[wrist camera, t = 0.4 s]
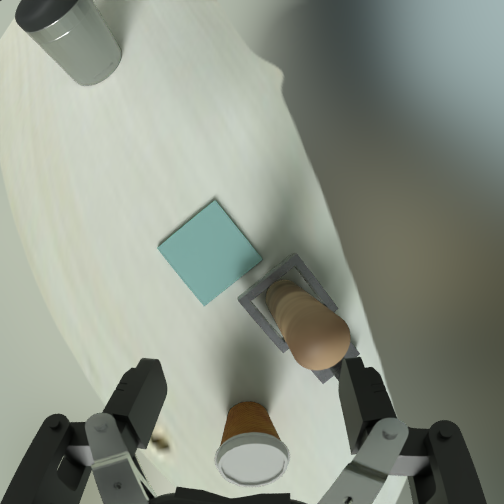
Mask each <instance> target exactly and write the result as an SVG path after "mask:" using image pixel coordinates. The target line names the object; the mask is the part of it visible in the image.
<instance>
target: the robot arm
mask: <svg viewBox="0 0 504 504" xmlns="http://www.w3.org/2000/svg"><path fill="white" fill-rule="evenodd" d="M0 1H1V0H0ZM15 19H16V22H17V23H18V25H19V26H20V27H21V28H22V29H23V30H24V31H25V32H26V33H27V34H28V35H29V36H30V37H31V38H32V39H33V40H34V41H35V42H37V43H38V44H39V45H40V46H41V47H42V48H43V49H44V51H45V52H46V53H47V54H48V55H49V56H50V57H51V58H52V59H53V60H54V61H55V62H56V63H57V64H58V65H59V66H60V67H61V68H62V69H63V70H64V71H65V72H66V73H67V74H68V75H69V76H70V77H71V78H72V79H73V80H74V81H75V82H77V83H78V84H80V85H83V86H89V85H94V84H97V83H99V82H101V81H103V80H104V79H106V78H107V77H108V76H109V75H110V74H112V73H113V71H114V70H115V69H116V68H117V66H118V64H119V62H120V60H121V49H120V47H119V45H118V44H117V42H116V40H115V38H114V37H113V35H112V33H111V31H110V30H109V28H108V26H107V24H106V23H105V21H104V19H103V18H102V16H101V14H100V12H99V11H98V9H97V7H96V5H95V4H94V2H93V0H21V2H20V3H19V5H18V7H17V10H16V14H15ZM166 395H167V383H166V380H165V377H164V373H163V370H162V367H161V364H160V361H159V360H158V359H149V358H142V359H141V360H140V362H139V363H138V365H137V367H136V368H131V369H130V370H128V371H127V372H126V373H125V374H124V375H123V377H122V378H121V380H120V382H119V384H118V385H117V387H116V390H115V391H114V392H113V394H112V396H111V398H110V400H109V401H108V403H107V405H106V407H105V409H104V410H103V412H102V413H97V414H94V415H92V416H91V417H90V418H89V419H88V420H87V421H86V422H69V420H68V419H67V418H66V416H64V415H62V414H53V415H51V416H49V417H47V418H46V419H45V421H44V422H43V424H42V426H41V427H40V429H39V431H38V432H37V434H36V436H35V438H34V439H33V441H32V443H31V445H30V447H29V448H28V450H27V452H26V454H25V456H24V457H23V459H22V461H21V463H20V465H19V467H18V469H17V471H16V473H15V475H14V477H13V479H12V481H11V483H10V485H9V487H8V489H7V491H6V493H5V495H4V497H3V500H2V501H1V504H79V503H80V500H81V497H82V494H83V491H84V489H85V486H86V483H87V481H88V478H89V476H90V473H91V470H92V471H93V475H94V477H95V481H96V484H97V487H98V490H99V493H100V495H101V498H102V501H103V503H104V504H306V503H304V502H301V501H297V500H292V499H290V493H279V494H257V495H252V496H246V497H240V498H227V497H223V496H220V495H217V494H213V493H210V492H207V491H204V490H197V489H189V488H182V487H177V488H176V492H175V493H170V494H164V495H161V496H157V495H156V493H155V492H154V490H153V489H152V487H151V485H150V483H149V481H148V479H147V477H146V475H145V473H144V471H143V469H142V467H141V465H140V463H139V461H138V458H137V456H136V454H135V452H136V450H137V448H141V449H146V448H147V446H148V443H149V440H150V438H151V435H152V432H153V430H154V427H155V424H156V422H157V419H158V416H159V414H160V411H161V408H162V406H163V403H164V401H165V398H166ZM339 398H340V402H341V407H342V411H343V416H344V420H345V425H346V430H347V435H348V440H349V445H350V450H351V455H353V454H356V456H355V457H354V459H353V460H352V462H351V463H349V464H348V465H347V466H346V467H345V468H344V470H343V471H342V472H341V474H340V475H339V477H338V478H337V479H336V481H335V482H334V483H333V485H332V486H331V487H330V489H329V490H328V491H327V492H326V494H325V495H324V496H323V497H322V499H321V500H320V501H319V502H318V504H372V503H373V501H374V500H375V498H376V496H377V495H378V493H379V491H380V490H381V488H382V486H383V485H384V483H385V481H386V479H387V477H388V475H398V476H408V480H409V485H410V489H411V495H412V500H413V504H487V503H486V500H485V497H484V494H483V490H482V488H481V484H480V481H479V478H478V475H477V473H476V470H475V467H474V464H473V462H472V459H471V456H470V453H469V451H468V448H467V446H466V444H465V441H464V438H463V436H462V433H461V431H460V429H459V427H458V426H457V425H456V424H455V423H453V422H451V421H447V420H442V421H438V422H436V423H434V424H433V425H432V426H431V428H430V429H417V428H410V427H407V425H406V424H405V423H404V422H403V421H401V420H399V419H397V417H396V414H395V412H394V409H393V406H392V404H391V401H390V398H389V396H388V393H387V392H386V388H385V386H384V385H383V381H382V378H381V376H380V374H379V373H378V372H377V371H376V370H375V369H374V368H373V367H368V368H365V367H364V364H363V361H362V359H361V357H353V358H344V359H343V361H342V367H341V373H340V379H339ZM63 456H64V457H63ZM62 457H63V459H62ZM61 460H62V462H61V464H60V461H61ZM59 464H60V466H59ZM58 466H59V468H58ZM57 468H58V470H57Z"/></svg>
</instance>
